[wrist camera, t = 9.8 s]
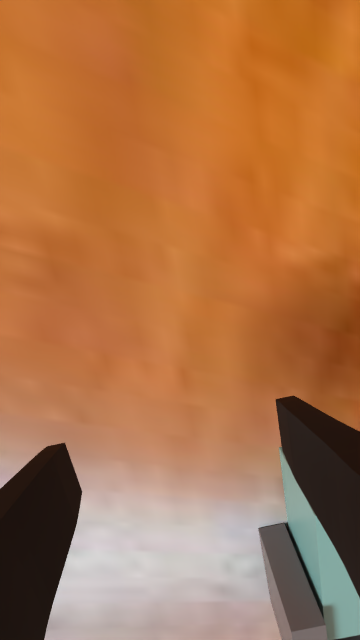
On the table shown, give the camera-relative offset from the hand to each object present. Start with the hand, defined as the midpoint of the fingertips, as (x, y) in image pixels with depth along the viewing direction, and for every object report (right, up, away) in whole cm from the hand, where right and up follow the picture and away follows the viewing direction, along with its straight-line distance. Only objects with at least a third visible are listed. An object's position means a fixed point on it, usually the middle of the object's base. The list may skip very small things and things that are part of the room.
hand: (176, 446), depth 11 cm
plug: (+10, -9, +14) cm, 19 cm away
